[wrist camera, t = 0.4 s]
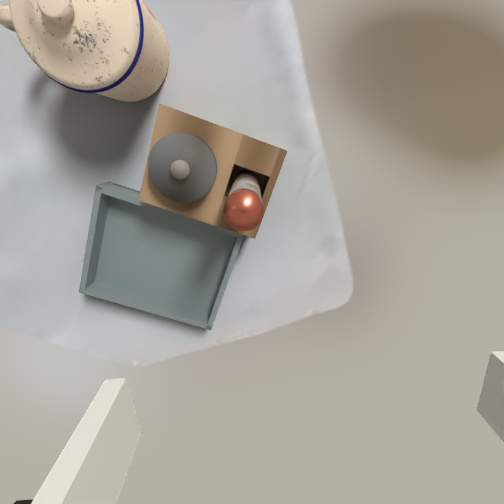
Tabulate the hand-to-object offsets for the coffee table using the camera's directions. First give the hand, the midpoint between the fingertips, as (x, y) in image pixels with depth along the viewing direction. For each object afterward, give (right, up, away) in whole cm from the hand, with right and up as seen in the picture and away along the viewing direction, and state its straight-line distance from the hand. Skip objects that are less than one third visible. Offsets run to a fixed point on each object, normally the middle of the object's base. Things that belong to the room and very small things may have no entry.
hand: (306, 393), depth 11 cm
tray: (-13, +5, +25) cm, 29 cm away
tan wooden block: (-6, +14, +22) cm, 27 cm away
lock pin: (-3, +13, +21) cm, 25 cm away
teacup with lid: (-16, +25, +18) cm, 35 cm away
